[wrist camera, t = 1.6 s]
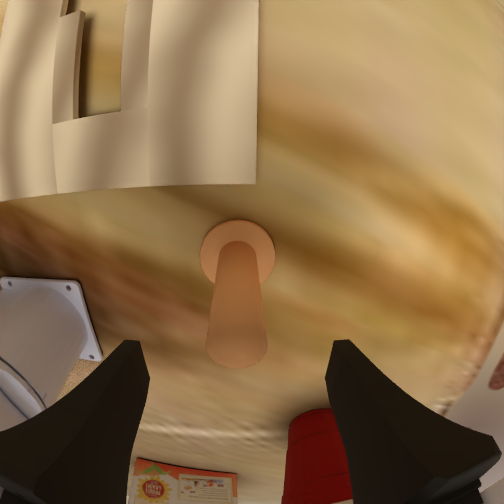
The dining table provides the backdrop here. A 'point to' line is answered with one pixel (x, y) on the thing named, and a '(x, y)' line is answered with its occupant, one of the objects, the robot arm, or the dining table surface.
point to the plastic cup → (316, 461)
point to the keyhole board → (130, 99)
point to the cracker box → (180, 485)
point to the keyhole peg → (237, 291)
